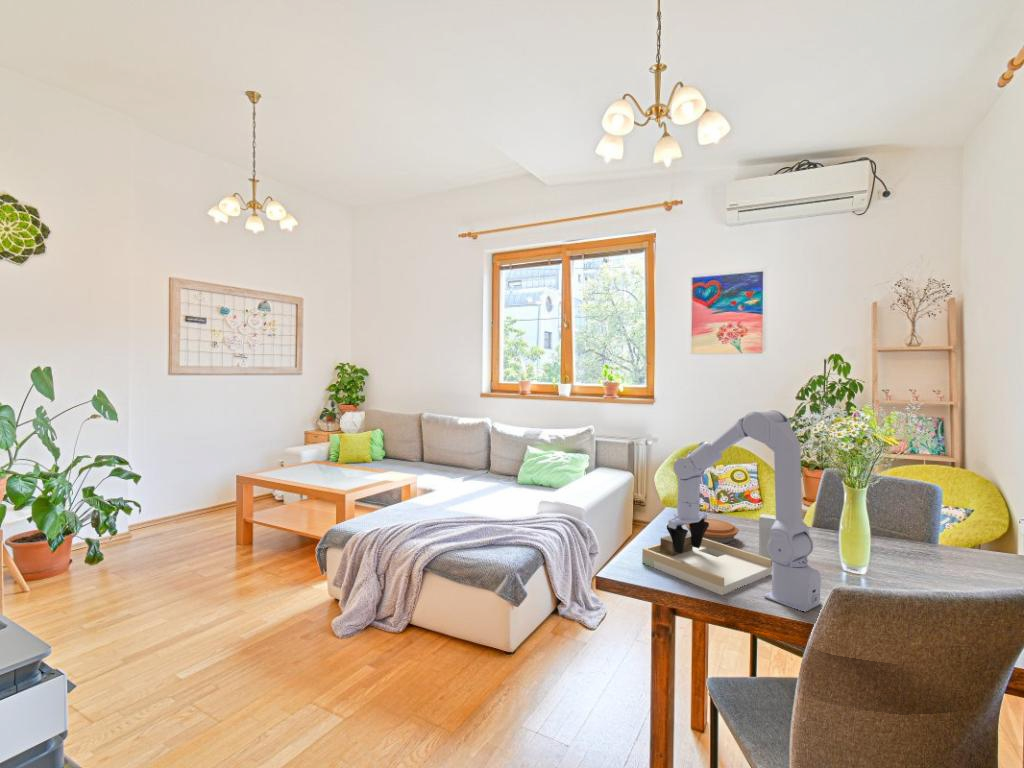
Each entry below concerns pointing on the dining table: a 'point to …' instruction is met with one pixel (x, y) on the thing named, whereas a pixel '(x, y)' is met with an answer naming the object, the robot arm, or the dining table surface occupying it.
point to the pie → (719, 531)
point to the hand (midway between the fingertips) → (687, 549)
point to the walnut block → (668, 545)
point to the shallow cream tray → (711, 566)
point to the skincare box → (765, 533)
